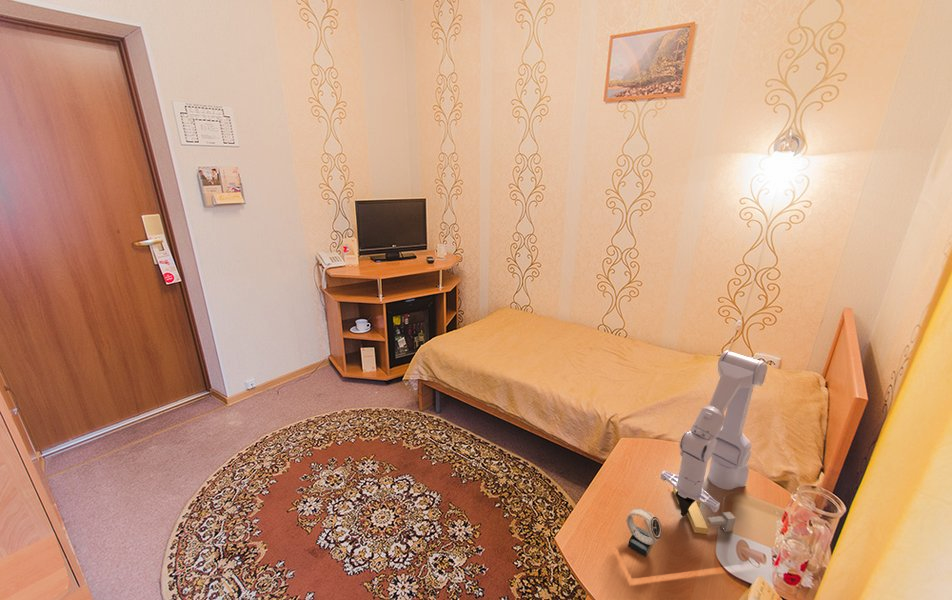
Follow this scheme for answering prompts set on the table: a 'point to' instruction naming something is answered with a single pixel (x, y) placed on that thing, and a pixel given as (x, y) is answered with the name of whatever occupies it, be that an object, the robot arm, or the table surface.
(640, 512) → the watch
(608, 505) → the table surface
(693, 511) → the link
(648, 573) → the table surface
